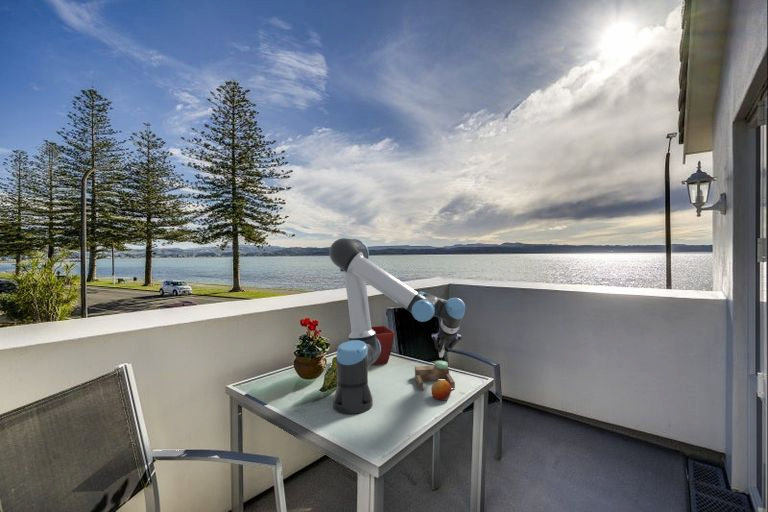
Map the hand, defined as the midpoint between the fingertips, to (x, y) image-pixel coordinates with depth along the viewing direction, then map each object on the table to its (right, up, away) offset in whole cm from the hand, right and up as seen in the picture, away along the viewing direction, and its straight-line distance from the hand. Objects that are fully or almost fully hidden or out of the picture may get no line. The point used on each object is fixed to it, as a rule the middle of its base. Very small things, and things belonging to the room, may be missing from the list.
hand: (440, 354), depth 153 cm
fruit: (-3, -11, -21) cm, 24 cm away
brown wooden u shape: (-4, -11, -8) cm, 14 cm away
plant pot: (-32, -12, +26) cm, 43 cm away
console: (-4, -11, 0) cm, 12 cm away
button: (0, -11, 0) cm, 11 cm away
